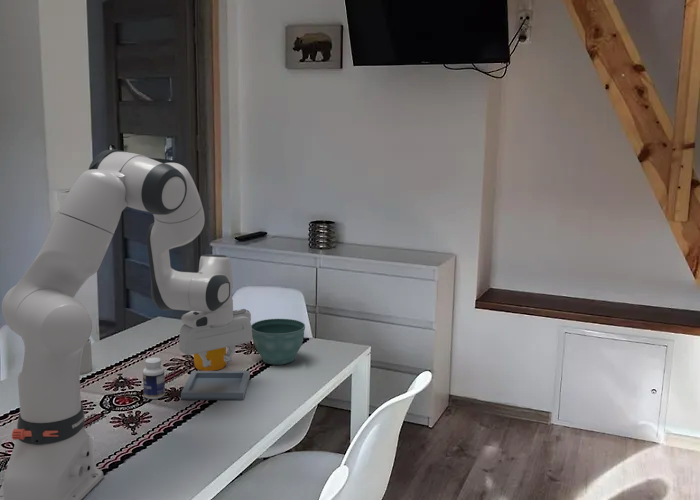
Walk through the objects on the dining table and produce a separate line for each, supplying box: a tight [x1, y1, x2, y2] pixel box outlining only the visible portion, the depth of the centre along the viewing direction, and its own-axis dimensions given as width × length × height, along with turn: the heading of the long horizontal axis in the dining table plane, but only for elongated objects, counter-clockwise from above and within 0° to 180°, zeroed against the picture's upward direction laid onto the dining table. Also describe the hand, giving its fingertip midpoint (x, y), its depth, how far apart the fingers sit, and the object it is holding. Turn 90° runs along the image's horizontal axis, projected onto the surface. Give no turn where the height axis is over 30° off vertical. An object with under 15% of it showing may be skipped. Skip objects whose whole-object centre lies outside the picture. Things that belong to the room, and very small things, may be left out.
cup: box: [80, 337, 93, 375], centre depth 202 cm, size 7×10×9 cm
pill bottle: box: [142, 357, 166, 400], centre depth 185 cm, size 5×5×10 cm
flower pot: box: [251, 318, 306, 366], centre depth 214 cm, size 16×16×11 cm
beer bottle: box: [193, 347, 227, 371], centre depth 206 cm, size 9×9×29 cm
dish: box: [180, 370, 251, 401], centre depth 192 cm, size 16×16×2 cm
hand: (217, 363), depth 190 cm, fingers open, 5 cm apart
